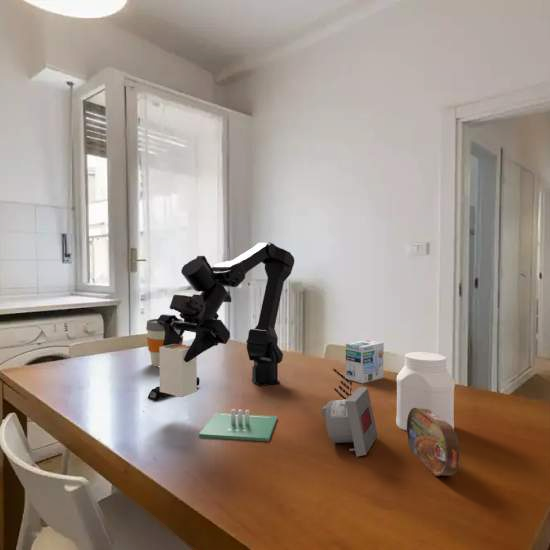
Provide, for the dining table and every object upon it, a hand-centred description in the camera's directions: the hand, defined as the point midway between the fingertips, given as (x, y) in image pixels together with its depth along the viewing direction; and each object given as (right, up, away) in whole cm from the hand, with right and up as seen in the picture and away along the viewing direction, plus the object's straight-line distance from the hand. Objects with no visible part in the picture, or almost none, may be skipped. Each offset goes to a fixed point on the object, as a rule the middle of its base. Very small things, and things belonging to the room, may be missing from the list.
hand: (173, 358), depth 91 cm
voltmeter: (+37, -14, -5) cm, 40 cm away
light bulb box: (+49, -13, +34) cm, 62 cm away
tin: (+49, -14, -19) cm, 55 cm away
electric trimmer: (-4, -13, +20) cm, 24 cm away
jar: (+54, -14, -3) cm, 56 cm away
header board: (+15, -14, -4) cm, 21 cm away
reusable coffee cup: (-15, -12, +52) cm, 55 cm away
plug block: (+1, -8, +1) cm, 8 cm away
